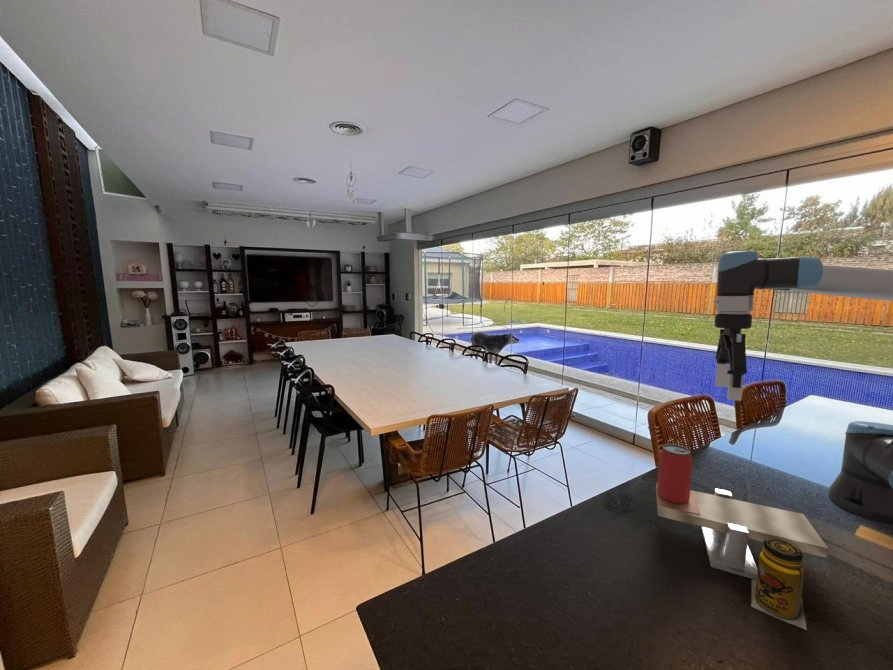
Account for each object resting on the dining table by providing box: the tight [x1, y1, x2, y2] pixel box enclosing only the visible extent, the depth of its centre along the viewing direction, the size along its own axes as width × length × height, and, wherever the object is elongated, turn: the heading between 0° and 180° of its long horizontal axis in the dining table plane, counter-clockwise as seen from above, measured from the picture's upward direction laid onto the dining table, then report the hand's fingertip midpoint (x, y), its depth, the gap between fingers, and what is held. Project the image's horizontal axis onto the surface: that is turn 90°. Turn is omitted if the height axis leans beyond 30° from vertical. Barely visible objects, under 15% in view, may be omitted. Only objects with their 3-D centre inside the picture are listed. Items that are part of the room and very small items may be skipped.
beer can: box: [656, 443, 694, 504], centre depth 85 cm, size 7×7×12 cm
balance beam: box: [655, 482, 829, 559], centre depth 81 cm, size 28×12×2 cm, turn 62°
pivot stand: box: [700, 488, 758, 581], centre depth 81 cm, size 8×17×10 cm, turn 152°
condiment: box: [750, 538, 808, 631], centre depth 67 cm, size 7×8×12 cm
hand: (727, 392), depth 96 cm, fingers open, 13 cm apart
